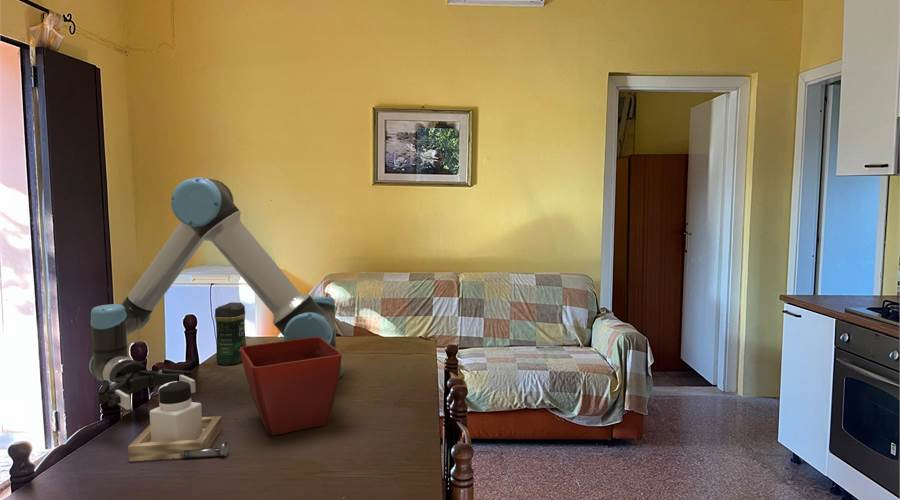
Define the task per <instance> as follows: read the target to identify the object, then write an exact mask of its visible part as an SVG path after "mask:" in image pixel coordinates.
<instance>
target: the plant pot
mask: <svg viewBox="0 0 900 500" xmlns="http://www.w3.org/2000/svg"><path fill="white" fill-rule="evenodd" d="M336 349H337V348H336ZM336 349H335V348H334V347H332V346H331V345H330V344H329V343H328V342H326V341H325V340H324V339H323V338H321V337H311V338H303V339H295V340H287V341H285V340H282V341H281V340H280V341H274V342H266V343H259V344H258V343H257V344H250V345H246V346H243V347H240V352H241V358H242V361H241V362H242V365H243V366H242V367H243V370H244V373H245V378H246V382H247V385H248V387H249V391H250V394H251V397H252V400H253V403H254V406H255V409H256V410H257V411H256V412H257V414H258V416H259V418H260V421H261V422H262V424H263V426H264V428H265V430H266V432H267V435H269V436H272V437H273V436H278V435H282V434H287V433H293V432H297V431H302V430H303V431H304V430H308V429H313V428H317V427H322V426H325V425H327V423H328V421H329V419H330V415H331V413H332V412H331V411H332V409H333V405H334V402H335V399H336V394H337V390H338V385H339V380H340V378H339V374H340V366H341V363H342V357H343V356H342V355H343V354H342V352H340V351H339V350H338V349H337V350H336Z"/></svg>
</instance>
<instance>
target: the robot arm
mask: <svg viewBox="0 0 900 500" xmlns="http://www.w3.org/2000/svg"><path fill="white" fill-rule="evenodd" d="M170 206H171V211H172V213H173V215H174V217H176V218H177V219H178V221H179V222H180V223H179V224H178V225H177V227H176V228H175V229H174V230H173V233H172V234H171V235H170V236H169V238H168V239H167V241H166V242H165V244H164V245H163V246H162V247H161V249H160V250H159V252H158V253H157V254H156V256H155V257H154V259H152V261H151V263H150V264H149V265H148V267H147V268H146V269H145V270H144V272H143V274H142V275H141V277H139V279H138V281H137V282H136V283H135V284H134V286H133V287H132V289H131V290H130V292H129V293H128V295H127V296H126V297H125V299H124V300H123V302H121V304H120V303H119V304H118V303H111V304H102V305H97V306H94V307H93V308H92V309H91V312H90V327H91V328H90V329H91V340H92V356H91V358H90V360H89V363H88V364H89V365H88V369H89V371H90V373H91V374H92V375H93V377H94V378H95V379H96V380H98V381H100V382H101V387H100V388H99V389H98V391H97V393H96V395H97V405H101V406H102V405H103V404H105V403H106V402H108V407H114V406H116V405H118V406H120V407H121V408H123V409H125V410H127V411H128V410H131V409H132V408H131V407H132V406H131V396H130V395H131V394H135V393H137V392H139V391H141V390H142V389H146V388H156V387H158V386H162V385H164V384H166V383H169V382H174V381H184V382H188V383H189V384H190V385H191V394H194V393H196V392H197V391H196V380H195V379H194V372H193V371H192V370H181V369H170V368H169V369H168V368H165V367H160V368H159V369H158V371H156V370H155V371H150V370H148V369H147V368H146V366H145V365H144V364H142V363H140V362H139V361H137V360H135V359H133V358H131V357H129V352H128V351H129V349H128V347H129V345H128V336H129V335H131V334H133V333H135V332H136V331H139V330H141V329H142V328H144V327H145V326H146V325H147V323H148V322H149V321H150V319H151V314H153V311H154V310H155V308H156V307H157V306H158V304H159V303H160V301H161V300H162V299H163V298H164V296H165V295H166V294H167V292H168V291H169V289H170V288H171V287H172V285H173V283H175V281H176V279H177V278H178V277H179V275H180V274H181V273H182V272H183V270H184V269H185V267H186V266H187V265H188V263H189V262H190V260H191V259H192V258H193V257H194V256H195V253H196V252H197V251H198V249H199V248H200V247H201V245H202V244H203V243H204V241H209V242H212V244H213V245H214V246H215V247H216V248H217V250H218V251H219V252H220V253H221V254H222V256H223V257H224V258H225V259H226V260H227V262H229V264H230V265H231V266H232V267H233V268H234V270H235V271H236V272H237V273H238V274H239V276H240V277H241V278H242V279H243V280H244V282H245V283H246V284H247V285H248V286H249V287H250V288H251V289H252V290H253V292H254V293H255V294H256V295H257V297H258V298H259V299H260V300H261V301H262V303H263V304H264V305H265V306H266V307H267V309H268V310H269V311H270V312H271V313H272V314H273V315H272V316H273V318H272V319H273V320H272V324H273V325H274V327H276V328H277V330H278V331H279V332H280V333H281V334H282V336H283V341H287V340H295V339H303V338H311V337H321V338H323V339H324V340H325V341H326V342H328V343H329V344H330V345H331V346H332V347H334V348H335V349H336V350H338V349H337V330H336V303H335V298H334V297H332V296H311V294H309V293H302V292H300V291H299V290H298V288H297V287H296V286H295V284H294V283H293V282H292V281H291V280H290V279H289V278H288V276H287V275H286V274H285V273H284V271H283V270H282V269H281V268H280V267H279V266H278V265H277V263H276V262H275V260H274V259H273V258H272V257H271V256H270V255H269V253H268V252H267V251H266V250H265V248H264V247H263V246H262V245H261V244H260V242H258V240H257V239H256V238H255V236H253V234H252V233H251V232H250V231H249V230H248V229H247V227H246V226H245V225H244V224H243V222H242V221H241V214H242V213H241V210H240V209H239V208H238V206H237V205H236V204H235V203H234V196H233V193H232V191H231V189H230V188H229V187H228V186H227V185H226V183H223V182H222V181H219V180H218V179H212V178H206V177H201V176H197V177H191V178H189V179H185V180H183V181H181V182H180V183H179V184H177V186H176V187H175V188H174V190H173V192H172V195H171V198H170ZM343 376H344V367H343V363H342V362H341V366H340V374H339V379H340V378H342V377H343Z"/></svg>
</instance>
